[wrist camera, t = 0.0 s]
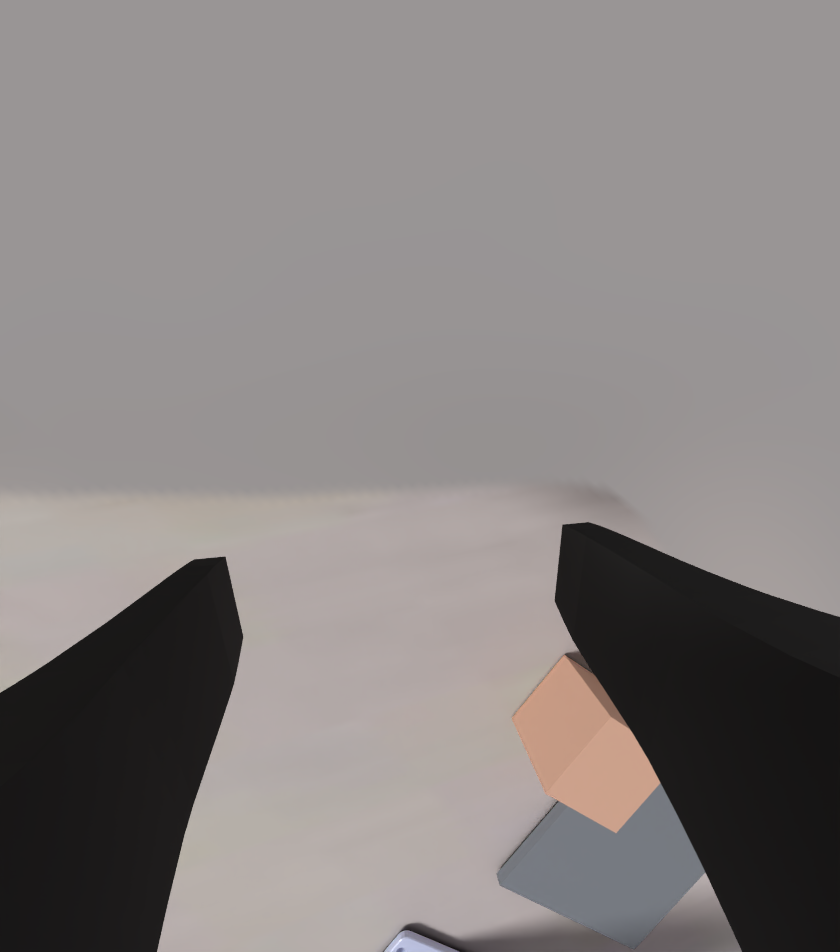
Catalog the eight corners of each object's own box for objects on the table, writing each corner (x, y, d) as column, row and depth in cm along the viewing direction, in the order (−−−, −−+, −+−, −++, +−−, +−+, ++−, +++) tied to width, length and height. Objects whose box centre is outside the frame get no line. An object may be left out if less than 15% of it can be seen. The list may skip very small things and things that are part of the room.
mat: (628, 937, 28) (634, 949, 27) (496, 873, 25) (499, 885, 25) (745, 809, 27) (753, 819, 26) (620, 729, 24) (626, 738, 24)
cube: (571, 754, 24) (616, 833, 20) (511, 718, 23) (545, 793, 19) (622, 693, 24) (679, 761, 20) (564, 654, 23) (610, 716, 19)
